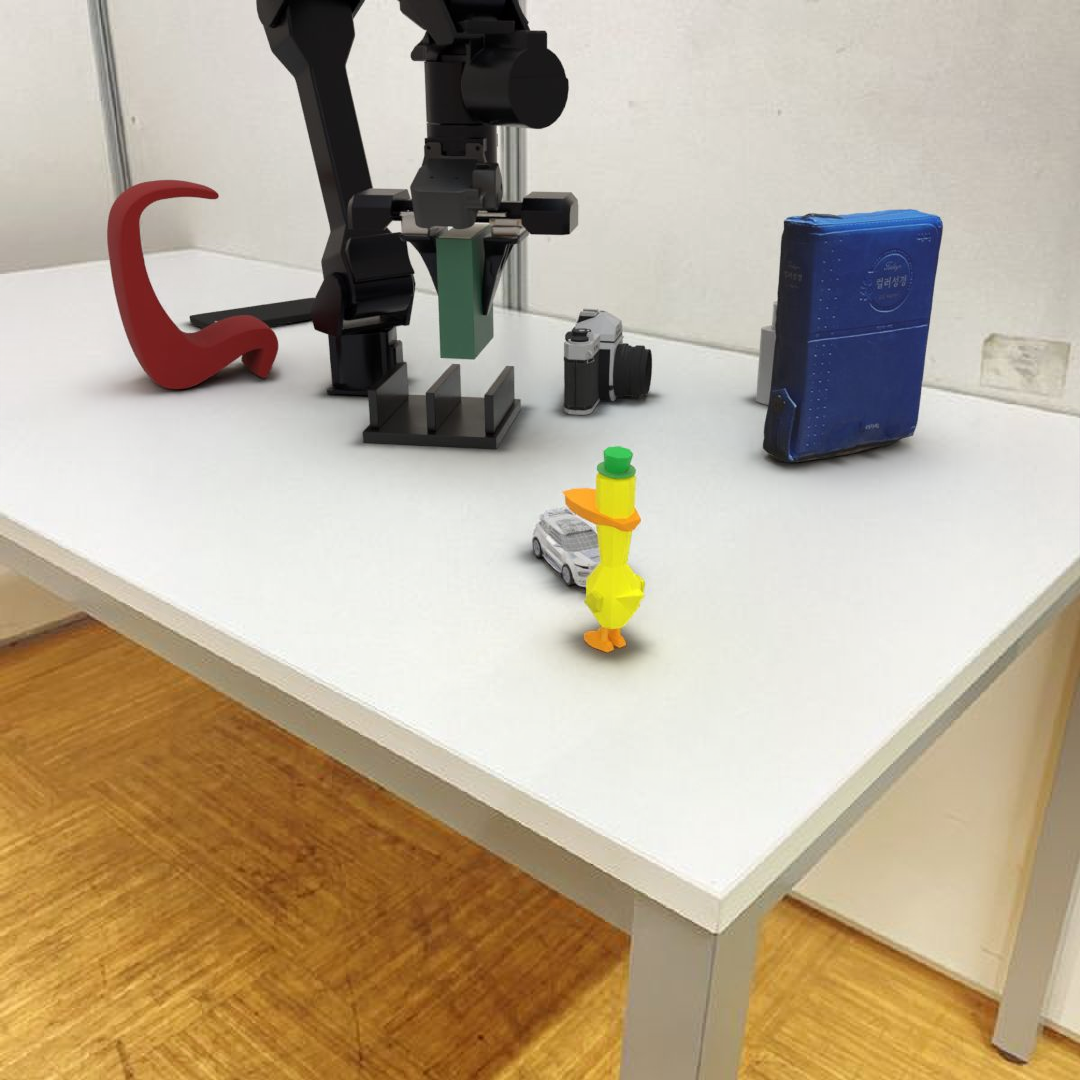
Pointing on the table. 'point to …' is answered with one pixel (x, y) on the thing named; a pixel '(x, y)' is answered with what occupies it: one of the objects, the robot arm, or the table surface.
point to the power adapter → (766, 360)
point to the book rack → (440, 411)
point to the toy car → (567, 545)
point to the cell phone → (261, 313)
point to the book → (850, 331)
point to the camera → (602, 363)
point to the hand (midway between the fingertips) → (466, 313)
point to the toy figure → (611, 546)
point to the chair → (145, 321)
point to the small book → (462, 293)
